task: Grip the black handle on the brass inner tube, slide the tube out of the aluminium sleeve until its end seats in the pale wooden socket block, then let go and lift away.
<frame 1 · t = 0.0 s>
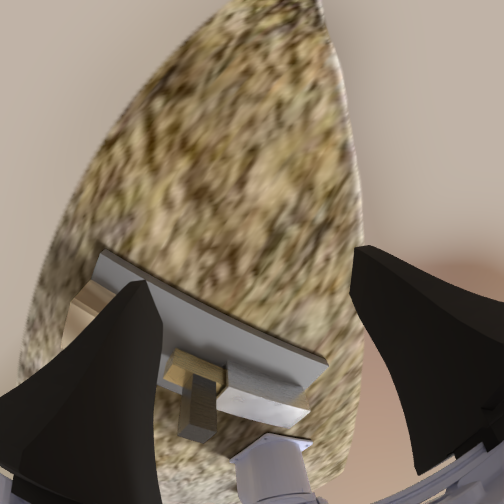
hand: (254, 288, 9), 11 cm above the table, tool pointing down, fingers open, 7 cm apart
base board: (198, 354, 23), on the table
outer sleeve: (258, 385, 24), resting on base board
inner tube: (238, 411, 19), point 5 cm above the table, slide at 0.0 cm
socket block: (103, 314, 19), resting on base board
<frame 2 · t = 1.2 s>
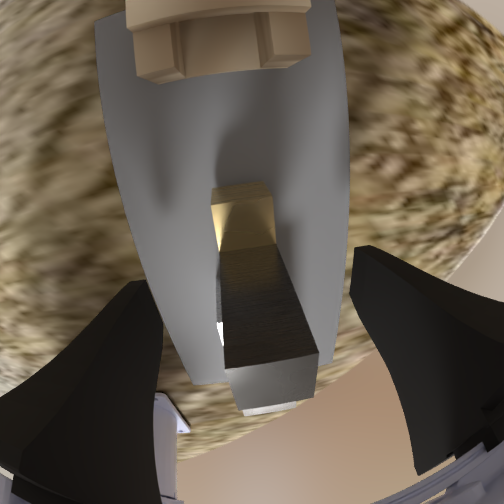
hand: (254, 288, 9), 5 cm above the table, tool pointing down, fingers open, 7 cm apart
base board: (241, 225, 13), on the table
outer sleeve: (257, 332, 15), resting on base board
inner tube: (264, 361, 11), point 5 cm above the table, slide at 0.0 cm
socket block: (217, 28, 8), resting on base board
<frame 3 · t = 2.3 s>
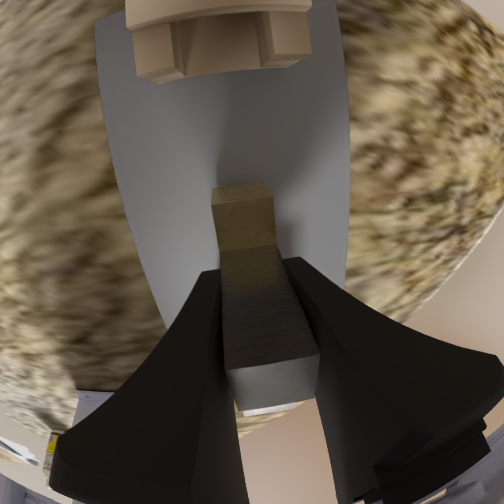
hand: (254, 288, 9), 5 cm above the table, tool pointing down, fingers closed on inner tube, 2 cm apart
base board: (242, 225, 13), on the table
supplement bottle: (68, 435, 26), on the table
inner tube: (264, 361, 11), point 5 cm above the table, slide at 0.0 cm, touching gripper
socket block: (217, 28, 8), resting on base board
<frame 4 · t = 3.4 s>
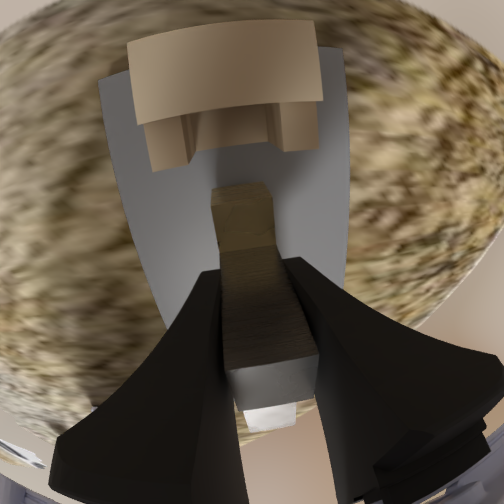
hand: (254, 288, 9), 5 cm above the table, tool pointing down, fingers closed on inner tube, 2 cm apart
base board: (249, 277, 15), on the table
outer sleeve: (261, 362, 17), resting on base board
inner tube: (264, 361, 11), point 5 cm above the table, slide at 3.0 cm, touching gripper
socket block: (225, 96, 9), resting on base board
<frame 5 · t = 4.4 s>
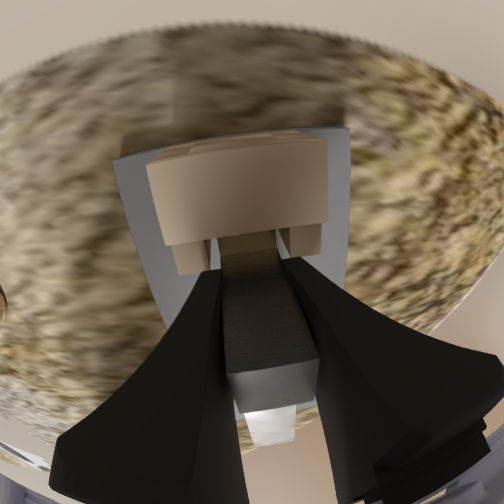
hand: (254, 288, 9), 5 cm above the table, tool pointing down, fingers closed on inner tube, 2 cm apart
base board: (255, 325, 16), on the table
outer sleeve: (265, 390, 19), resting on base board
inner tube: (264, 363, 11), point 5 cm above the table, slide at 6.5 cm, touching gripper
socket block: (237, 184, 11), resting on base board
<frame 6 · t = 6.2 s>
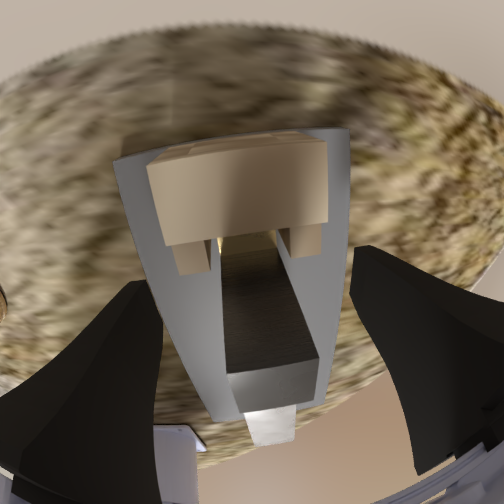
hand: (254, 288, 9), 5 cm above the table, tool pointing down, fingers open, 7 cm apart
base board: (256, 325, 16), on the table
outer sleeve: (265, 390, 19), resting on base board
inner tube: (264, 363, 11), point 5 cm above the table, slide at 6.5 cm
socket block: (237, 184, 11), resting on base board
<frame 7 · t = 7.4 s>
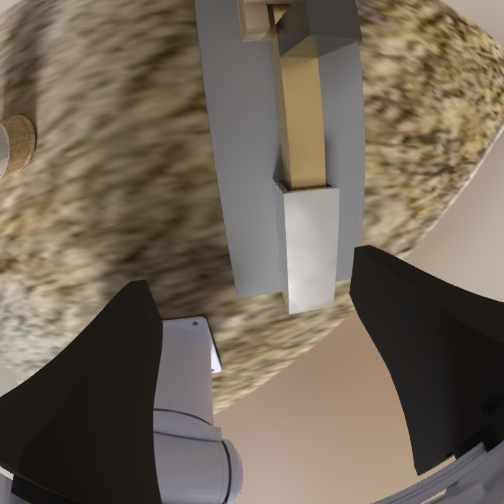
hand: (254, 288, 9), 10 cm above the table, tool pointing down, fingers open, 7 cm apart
sprinkles bottle: (19, 141, 14), on the table
base board: (290, 143, 17), on the table
outer sleeve: (299, 234, 19), resting on base board
inner tube: (312, 101, 11), point 5 cm above the table, slide at 6.5 cm
socket block: (280, 13, 11), resting on base board
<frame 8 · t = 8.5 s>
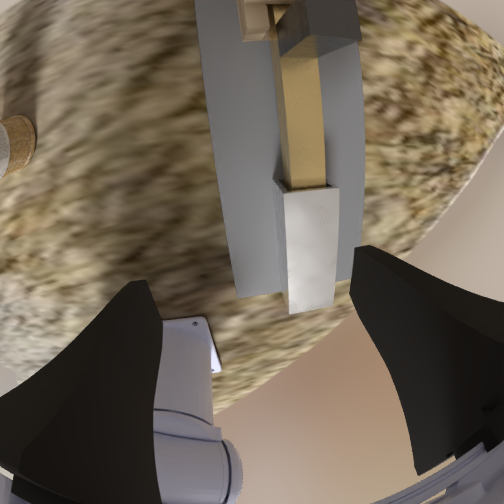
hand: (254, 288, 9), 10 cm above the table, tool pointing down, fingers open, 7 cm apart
sprinkles bottle: (19, 141, 14), on the table
base board: (290, 143, 17), on the table
outer sleeve: (299, 234, 19), resting on base board
inner tube: (312, 101, 11), point 5 cm above the table, slide at 6.5 cm
socket block: (280, 13, 11), resting on base board
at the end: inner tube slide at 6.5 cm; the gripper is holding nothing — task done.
